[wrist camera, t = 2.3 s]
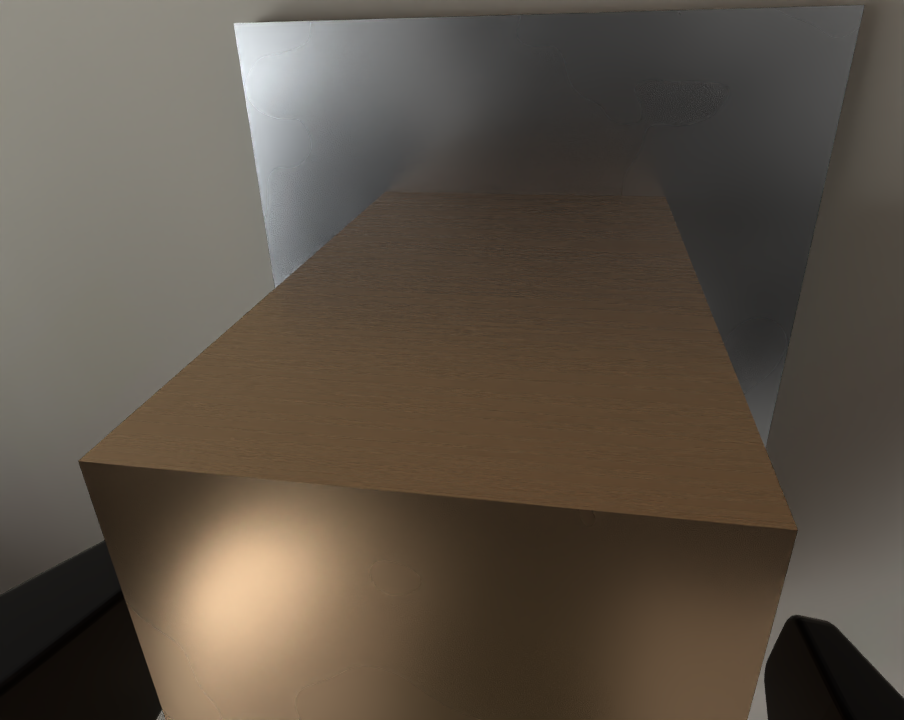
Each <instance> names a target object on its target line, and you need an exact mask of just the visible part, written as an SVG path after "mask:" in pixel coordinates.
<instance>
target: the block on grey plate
mask: <svg viewBox="0 0 904 720" xmlns="http://www.w3.org/2000/svg"><path fill="white" fill-rule="evenodd" d="M863 10H864V5H843V6H808V7H774V8H739V9H704V10H670V11H635V12H600V13H566V14H531V15H496V16H461V17H427V18H392V19H357V20H323V21H288V22H253V23H234V28H235V35H236V41H237V48H238V54H239V60H240V67H241V73H242V80H243V86H244V93H245V99H246V106H247V112H248V119H249V125H250V131H251V138H252V144H253V151H254V157H255V164H256V170H257V177H258V183H259V189H260V196H261V202H262V209H263V215H264V222H265V228H266V235H267V241H268V247H269V254H270V260H271V267H272V273H273V280H274V286H275V289H274V290H273V291H272V292H270V293H269V294H268V295H267V296H266V297H265V298H264V299H262V300H261V301H260V302H259V303H258V304H257V305H256V306H254V307H253V308H252V309H251V310H250V311H249V312H248V313H246V314H245V315H244V316H243V317H242V318H241V319H240V320H239V321H237V322H236V323H235V324H234V325H233V326H232V327H231V328H229V329H228V330H227V331H226V332H225V333H224V334H223V335H221V336H220V337H219V338H218V339H217V340H216V341H215V342H213V343H212V344H211V345H210V346H209V347H208V348H207V349H205V350H204V351H203V352H202V353H201V354H200V355H199V356H197V357H196V358H195V359H194V360H193V361H192V362H191V363H189V364H188V365H187V366H186V367H185V368H184V369H183V370H181V371H180V372H179V373H178V374H177V375H176V376H175V377H173V378H172V379H171V380H170V381H169V382H168V383H167V384H166V385H164V386H163V387H162V388H161V389H160V390H159V391H158V392H156V393H155V394H154V395H153V396H152V397H151V398H150V399H148V400H147V401H146V402H145V403H144V404H143V405H142V406H140V407H139V408H138V409H137V410H136V411H135V412H134V413H132V414H131V415H130V416H129V417H128V418H127V419H126V420H124V421H123V422H122V423H121V424H120V425H119V426H118V427H116V428H115V429H114V430H113V431H112V432H111V433H110V434H108V435H107V436H106V437H105V438H104V439H103V440H102V441H101V442H99V443H98V444H97V445H96V446H95V447H94V448H93V449H91V450H90V451H89V452H88V453H87V454H86V455H85V456H83V457H82V458H81V459H80V460H79V461H78V462H79V465H80V468H81V471H82V474H83V477H84V480H85V483H86V486H87V489H88V491H89V494H90V497H91V500H92V503H93V506H94V509H95V512H96V515H97V518H98V521H99V524H100V527H101V530H102V533H103V536H104V539H105V542H106V545H107V548H108V551H109V553H110V556H111V559H112V562H113V565H114V568H115V571H116V574H117V577H118V580H119V583H120V586H121V589H122V592H123V595H124V598H125V601H126V604H127V607H128V610H129V613H130V616H131V618H132V621H133V624H134V627H135V630H136V633H137V636H138V639H139V642H140V645H141V648H142V651H143V654H144V657H145V660H146V663H147V666H148V669H149V672H150V675H151V678H152V681H153V683H154V686H155V689H156V692H157V695H158V698H159V701H160V704H161V707H162V710H163V713H164V716H165V719H166V720H747V718H748V715H749V711H750V707H751V703H752V700H753V696H754V692H755V688H756V685H757V681H758V677H759V673H760V670H761V666H762V662H763V659H764V655H765V651H766V647H767V644H768V640H769V636H770V632H771V629H772V625H773V621H774V617H775V614H776V610H777V606H778V602H779V599H780V595H781V591H782V587H783V584H784V580H785V576H786V573H787V569H788V565H789V561H790V558H791V554H792V550H793V546H794V543H795V539H796V535H797V531H798V529H797V527H796V524H795V522H794V519H793V517H792V514H791V512H790V509H789V507H788V504H787V502H786V499H785V497H784V494H783V492H782V489H781V487H780V484H779V482H778V479H777V477H776V474H775V472H774V469H773V467H772V464H771V462H770V459H769V456H768V454H767V451H766V449H765V448H766V444H767V440H768V435H769V431H770V426H771V422H772V417H773V413H774V408H775V404H776V399H777V395H778V390H779V386H780V381H781V377H782V372H783V368H784V363H785V359H786V354H787V350H788V346H789V341H790V337H791V332H792V328H793V323H794V319H795V314H796V310H797V305H798V301H799V296H800V292H801V287H802V283H803V278H804V274H805V269H806V265H807V260H808V256H809V252H810V247H811V243H812V238H813V234H814V229H815V225H816V220H817V216H818V211H819V207H820V202H821V198H822V193H823V189H824V184H825V180H826V175H827V171H828V166H829V162H830V158H831V153H832V149H833V144H834V140H835V135H836V131H837V126H838V122H839V117H840V113H841V108H842V104H843V99H844V95H845V90H846V86H847V81H848V77H849V72H850V68H851V63H852V59H853V55H854V50H855V46H856V41H857V37H858V32H859V28H860V23H861V19H862V14H863Z"/></svg>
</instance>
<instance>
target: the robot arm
mask: <svg viewBox="0 0 904 720" xmlns="http://www.w3.org/2000/svg"><path fill="white" fill-rule="evenodd" d="M764 683H765V694H766V704H767V714H768V720H904V698H903V697H902V696H901V695H900V694H899V693H898V692H897V691H896V690H895V689H894V688H893V686H892V685H891V684H890V683H889V682H888V681H887V680H886V679H885V678H884V677H883V676H882V675H881V674H880V673H879V672H878V671H877V670H876V668H875V667H874V666H873V665H872V664H871V663H870V662H869V661H868V660H867V659H866V658H865V657H864V656H863V655H862V654H861V653H860V652H859V651H858V649H857V648H856V647H855V646H854V645H853V644H852V643H851V642H850V641H849V640H848V639H847V638H846V637H845V636H844V635H843V634H842V633H841V631H840V630H839V629H838V628H837V627H835V626H834V625H833V624H832V623H830V622H827V621H825V620H820V619H815V618H810V617H805V616H800V615H793V616H791V617H790V618H789V619H788V620H787V621H786V623H785V624H784V626H783V629H782V631H781V633H780V635H779V637H778V639H777V641H776V643H775V645H774V647H773V650H772V652H771V654H770V656H769V658H768V660H767V663H766V667H765V674H764ZM161 711H162V707H161V704H160V701H159V698H158V695H157V692H156V689H155V686H154V683H153V681H152V678H151V675H150V672H149V669H148V666H147V663H146V660H145V657H144V654H143V651H142V648H141V645H140V642H139V639H138V636H137V633H136V630H135V627H134V624H133V621H132V618H131V616H130V613H129V610H128V607H127V604H126V601H125V598H124V595H123V592H122V589H121V586H120V583H119V580H118V577H117V574H116V571H115V568H114V565H113V562H112V559H111V556H110V553H109V551H108V548H107V545H106V542H105V540H104V541H102V542H100V543H99V544H97V545H95V546H93V547H91V548H89V549H87V550H85V551H83V552H81V553H79V554H78V555H76V556H74V557H72V558H70V559H68V560H66V561H64V562H62V563H60V564H58V565H56V566H55V567H53V568H51V569H49V570H47V571H45V572H43V573H41V574H39V575H37V576H35V577H34V578H32V579H30V580H28V581H26V582H24V583H22V584H20V585H18V586H16V587H14V588H12V589H11V590H9V591H7V592H5V593H3V594H1V595H0V720H156V719H157V717H158V716H159V714H160V712H161Z"/></svg>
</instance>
